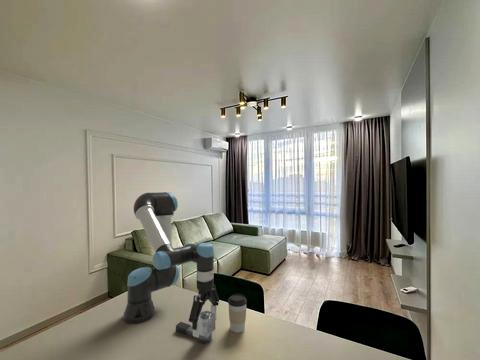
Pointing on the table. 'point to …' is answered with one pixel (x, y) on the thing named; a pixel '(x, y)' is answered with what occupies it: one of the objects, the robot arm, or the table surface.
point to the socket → (206, 323)
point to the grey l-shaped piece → (188, 331)
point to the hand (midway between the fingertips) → (205, 327)
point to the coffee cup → (237, 312)
